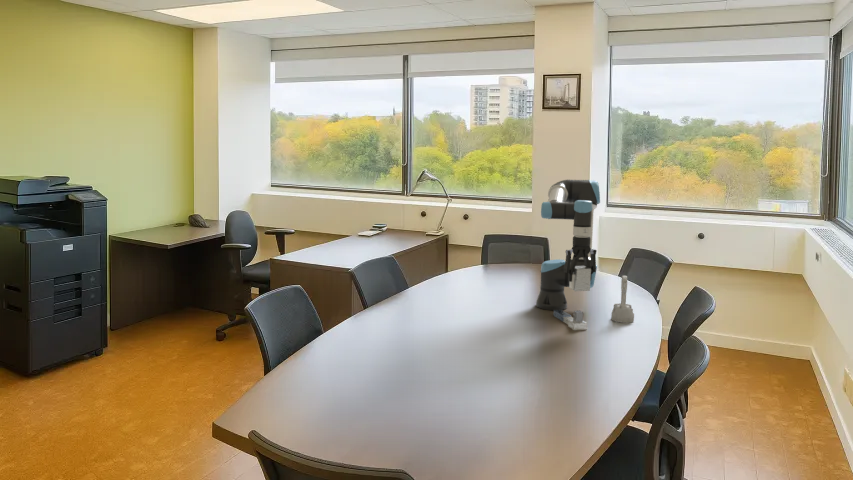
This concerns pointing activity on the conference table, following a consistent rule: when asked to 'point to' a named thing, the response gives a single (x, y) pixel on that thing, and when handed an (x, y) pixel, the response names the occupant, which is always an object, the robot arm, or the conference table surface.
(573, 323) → the blue-grey beige mallet
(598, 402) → the conference table surface
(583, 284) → the grey textured cube
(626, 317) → the engine component
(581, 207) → the robot arm
